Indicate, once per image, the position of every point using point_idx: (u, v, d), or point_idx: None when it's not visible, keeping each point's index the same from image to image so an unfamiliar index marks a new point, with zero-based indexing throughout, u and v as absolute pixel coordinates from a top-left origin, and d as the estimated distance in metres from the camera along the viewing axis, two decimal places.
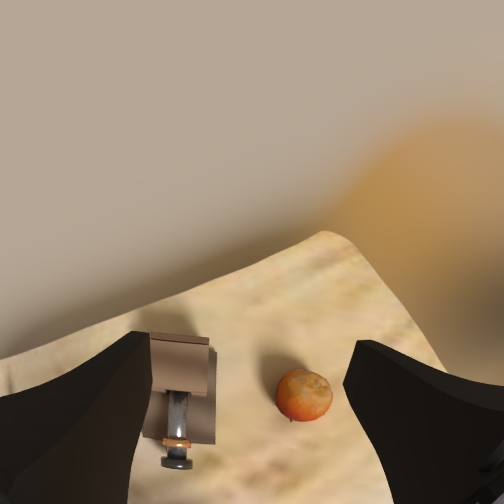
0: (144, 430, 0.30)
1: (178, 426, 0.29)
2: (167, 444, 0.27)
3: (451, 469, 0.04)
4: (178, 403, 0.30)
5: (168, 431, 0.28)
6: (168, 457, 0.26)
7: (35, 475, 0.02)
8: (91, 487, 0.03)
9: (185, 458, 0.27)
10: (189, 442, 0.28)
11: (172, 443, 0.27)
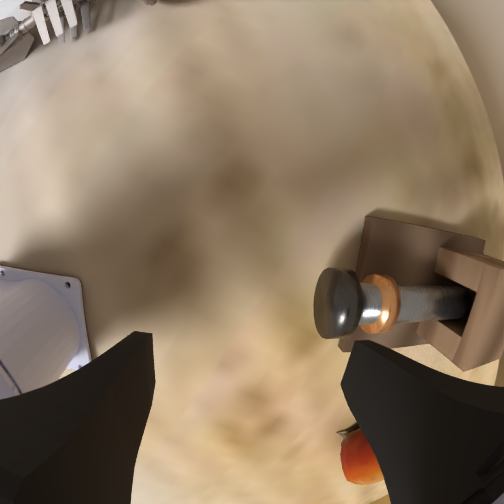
0: (384, 223, 0.17)
1: (413, 314, 0.15)
2: (390, 296, 0.14)
3: (448, 470, 0.04)
4: (444, 311, 0.15)
5: (405, 292, 0.15)
6: None
7: (41, 478, 0.02)
8: (96, 488, 0.03)
9: None
10: None
11: (393, 309, 0.14)
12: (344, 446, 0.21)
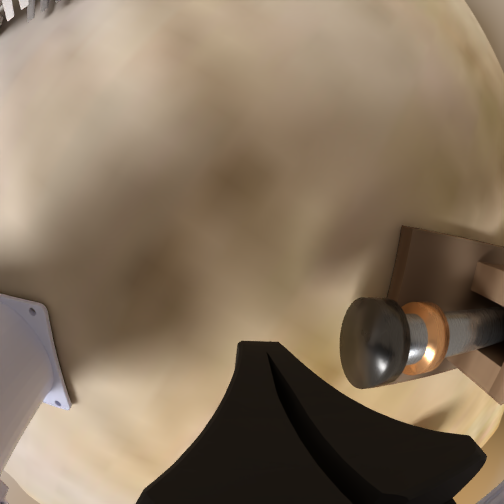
0: (425, 235, 0.13)
1: (457, 348, 0.11)
2: (439, 333, 0.10)
3: None
4: (486, 339, 0.11)
5: (450, 322, 0.11)
6: None
7: (342, 502, 0.02)
8: None
9: None
10: None
11: (440, 348, 0.10)
12: None
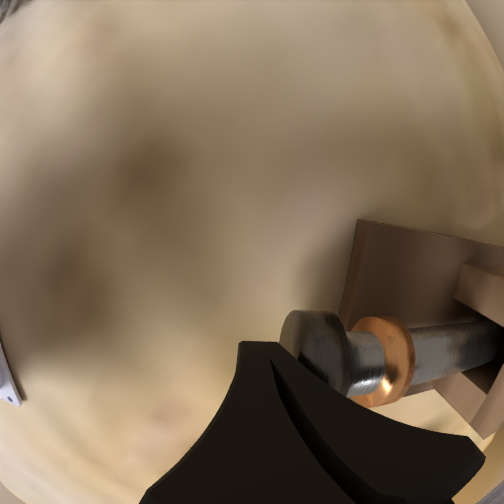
0: (387, 230, 0.11)
1: (431, 375, 0.09)
2: (399, 359, 0.08)
3: None
4: (472, 361, 0.09)
5: (421, 343, 0.09)
6: None
7: (344, 502, 0.02)
8: None
9: None
10: None
11: (401, 378, 0.08)
12: None
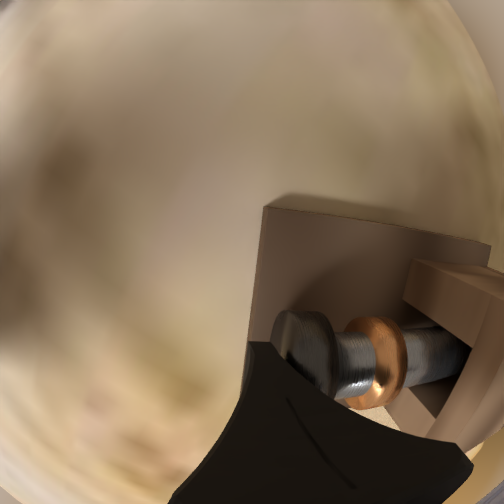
0: (294, 217, 0.10)
1: (425, 377, 0.09)
2: (390, 361, 0.08)
3: None
4: None
5: (415, 344, 0.09)
6: None
7: (366, 495, 0.02)
8: None
9: None
10: None
11: (393, 381, 0.08)
12: None
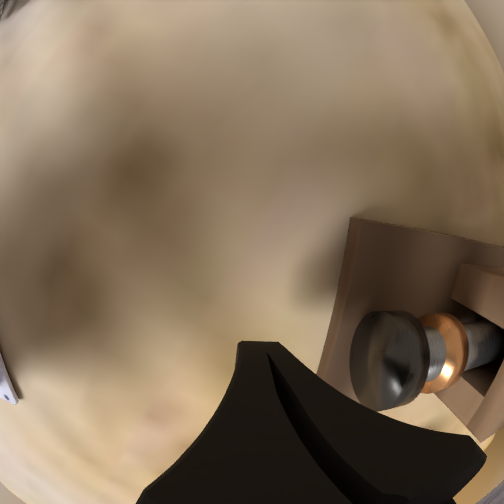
0: (381, 228, 0.11)
1: (474, 363, 0.09)
2: (458, 348, 0.08)
3: None
4: (502, 351, 0.09)
5: (469, 335, 0.09)
6: None
7: (341, 502, 0.02)
8: None
9: None
10: None
11: (459, 364, 0.08)
12: None
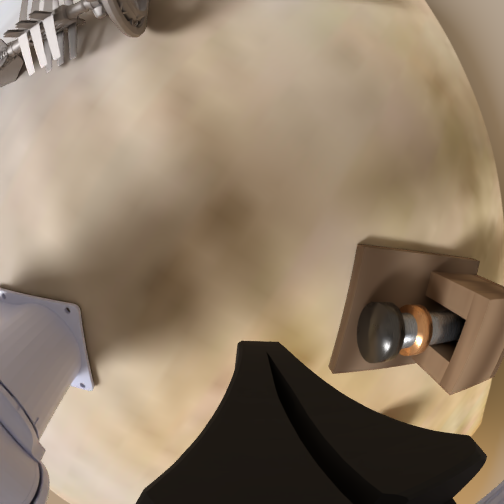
0: (376, 251, 0.18)
1: (440, 338, 0.16)
2: (425, 325, 0.15)
3: None
4: None
5: (434, 319, 0.16)
6: None
7: (342, 502, 0.02)
8: None
9: None
10: None
11: (426, 336, 0.15)
12: None
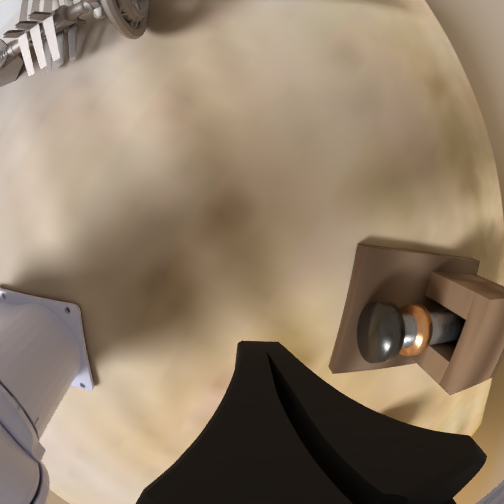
0: (376, 251, 0.18)
1: (440, 338, 0.16)
2: (425, 325, 0.15)
3: None
4: None
5: (434, 319, 0.16)
6: None
7: (342, 502, 0.02)
8: None
9: None
10: None
11: (426, 336, 0.15)
12: None
